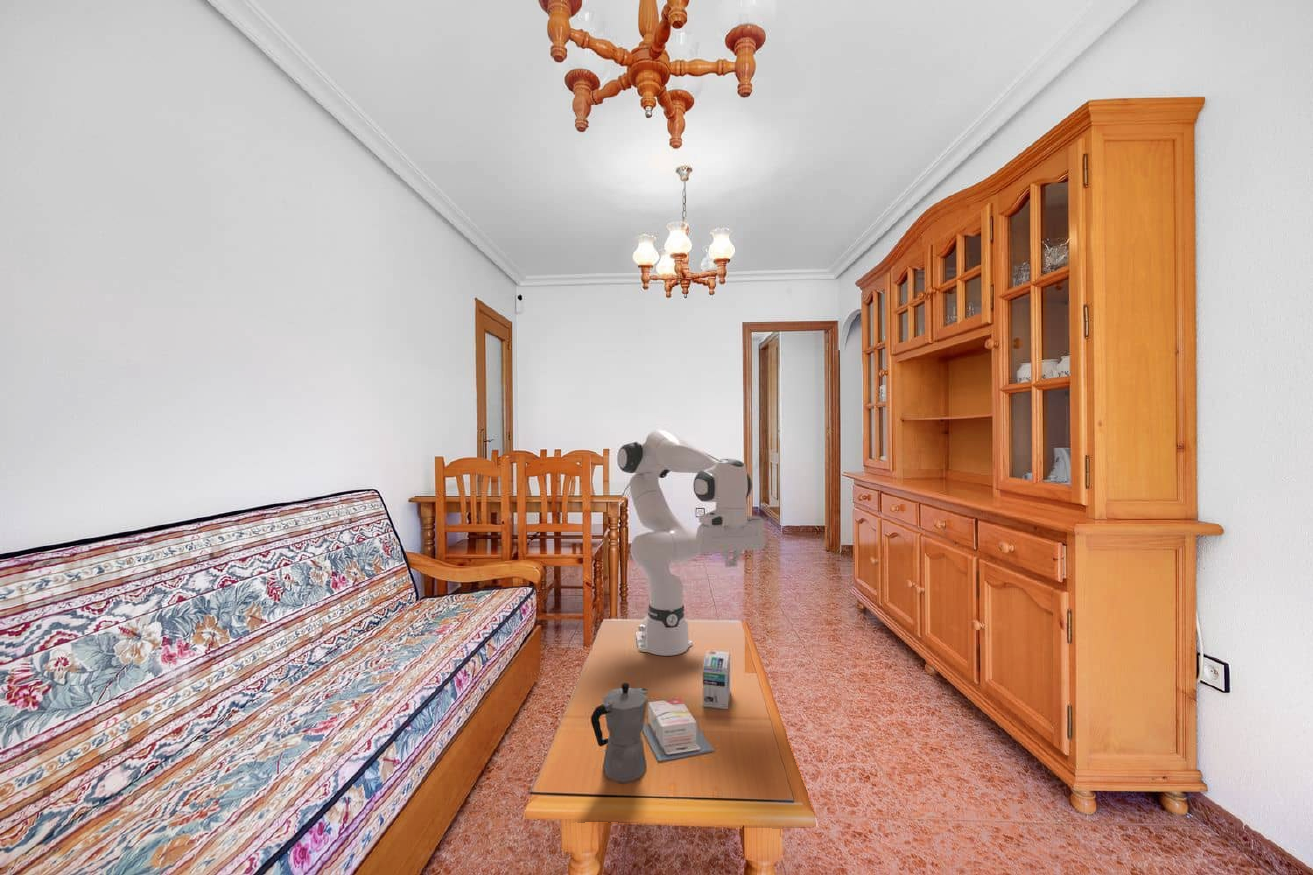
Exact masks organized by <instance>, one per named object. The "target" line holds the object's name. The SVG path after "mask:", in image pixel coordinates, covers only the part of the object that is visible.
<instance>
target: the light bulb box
mask: <svg viewBox="0 0 1313 875" xmlns="http://www.w3.org/2000/svg"><path fill="white" fill-rule="evenodd" d="M703 660H704V661H703V664H702V707H706V708H713V709H714V708H715V709H721V710H728V708H729V702H730V695H731V652H726V651H717V650H706V652H705V656H704V659H703Z"/></svg>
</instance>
